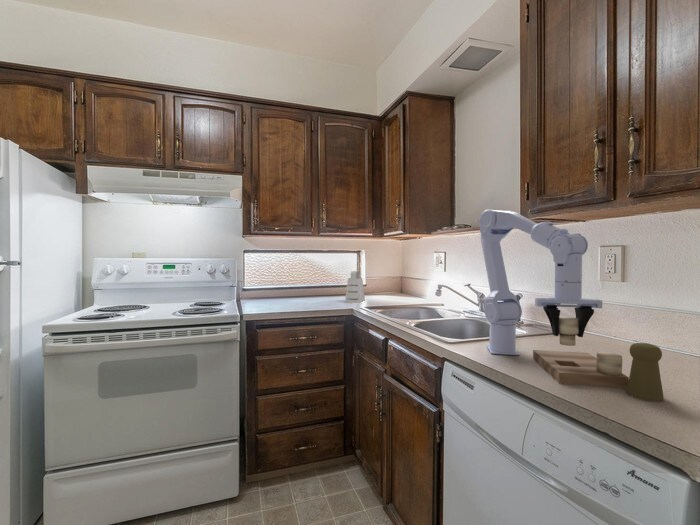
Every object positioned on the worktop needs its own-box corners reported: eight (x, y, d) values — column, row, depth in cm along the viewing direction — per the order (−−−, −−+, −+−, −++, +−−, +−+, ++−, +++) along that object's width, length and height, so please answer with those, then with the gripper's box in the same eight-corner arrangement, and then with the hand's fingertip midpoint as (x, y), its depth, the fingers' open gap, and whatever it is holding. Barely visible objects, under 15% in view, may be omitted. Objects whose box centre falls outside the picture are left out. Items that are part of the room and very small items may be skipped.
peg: (553, 341, 90) (553, 316, 90) (574, 342, 89) (574, 316, 89) (560, 346, 85) (559, 319, 85) (582, 346, 84) (581, 320, 84)
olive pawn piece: (626, 388, 77) (627, 339, 77) (663, 395, 74) (663, 343, 73) (626, 396, 73) (626, 344, 72) (665, 404, 69) (665, 349, 69)
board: (533, 358, 100) (533, 336, 100) (587, 361, 97) (587, 338, 97) (559, 383, 80) (559, 355, 80) (628, 388, 77) (628, 359, 77)
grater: (344, 303, 220) (344, 271, 220) (349, 301, 230) (350, 271, 230) (360, 303, 217) (360, 271, 216) (365, 301, 227) (365, 271, 226)
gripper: (541, 282, 84) (540, 337, 85) (609, 283, 81) (608, 341, 81) (532, 280, 91) (532, 331, 91) (594, 281, 88) (594, 334, 88)
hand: (567, 335), depth 87 cm, fingers closed on peg, 5 cm apart
